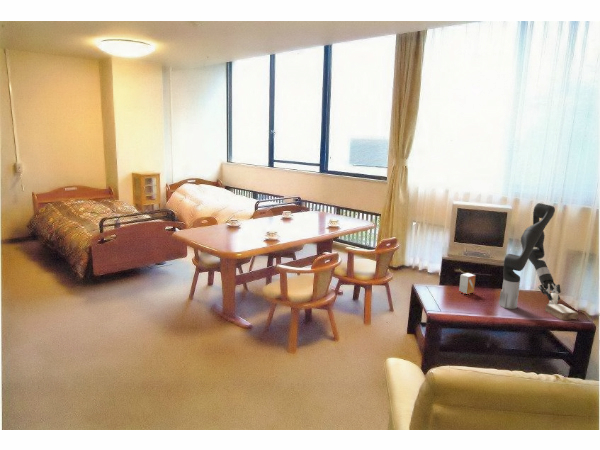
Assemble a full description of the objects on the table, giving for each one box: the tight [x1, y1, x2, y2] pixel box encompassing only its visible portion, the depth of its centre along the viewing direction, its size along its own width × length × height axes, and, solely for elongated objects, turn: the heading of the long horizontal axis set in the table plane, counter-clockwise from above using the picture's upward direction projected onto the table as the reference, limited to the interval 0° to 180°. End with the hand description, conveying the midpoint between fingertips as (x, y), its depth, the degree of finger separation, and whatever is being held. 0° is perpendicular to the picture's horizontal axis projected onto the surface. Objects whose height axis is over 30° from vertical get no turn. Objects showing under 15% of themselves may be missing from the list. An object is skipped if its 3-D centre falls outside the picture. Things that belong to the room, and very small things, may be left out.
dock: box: [544, 303, 579, 321], centre depth 256 cm, size 10×14×4 cm
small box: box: [458, 272, 477, 294], centre depth 290 cm, size 8×6×13 cm
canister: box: [548, 291, 560, 304], centre depth 271 cm, size 4×4×8 cm
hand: (554, 299), depth 270 cm, fingers closed on canister, 4 cm apart
